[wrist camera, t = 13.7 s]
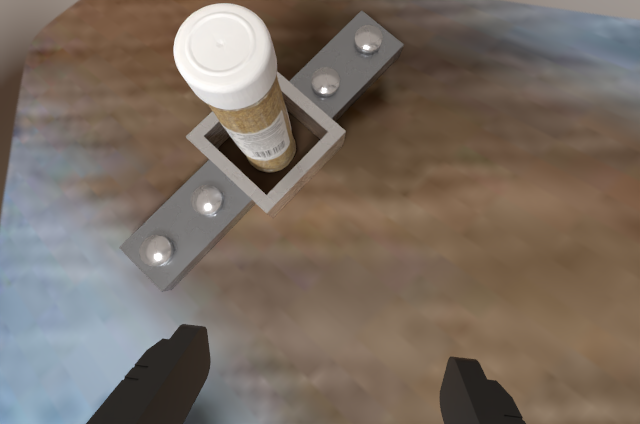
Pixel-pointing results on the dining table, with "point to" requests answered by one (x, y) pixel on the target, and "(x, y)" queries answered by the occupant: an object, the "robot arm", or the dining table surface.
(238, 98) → the sprinkles bottle
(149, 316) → the dining table surface
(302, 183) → the link socket
